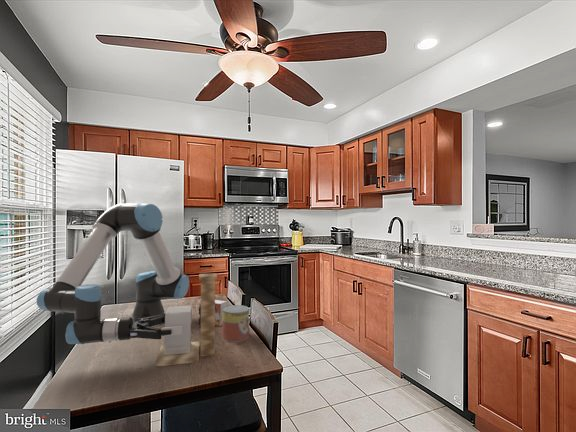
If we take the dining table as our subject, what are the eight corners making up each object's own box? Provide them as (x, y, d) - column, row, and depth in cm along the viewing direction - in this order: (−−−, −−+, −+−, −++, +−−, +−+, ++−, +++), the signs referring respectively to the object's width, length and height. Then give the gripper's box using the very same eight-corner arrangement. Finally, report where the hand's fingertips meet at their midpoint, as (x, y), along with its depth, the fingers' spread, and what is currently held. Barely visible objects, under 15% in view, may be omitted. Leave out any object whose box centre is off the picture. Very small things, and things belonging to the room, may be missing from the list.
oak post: (198, 357, 114) (199, 276, 114) (198, 350, 120) (199, 273, 121) (216, 355, 116) (217, 276, 116) (215, 348, 122) (216, 273, 122)
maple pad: (156, 366, 107) (156, 360, 107) (161, 349, 120) (161, 344, 120) (198, 361, 111) (198, 356, 111) (199, 346, 124) (199, 341, 124)
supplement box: (190, 353, 113) (190, 311, 113) (164, 356, 111) (164, 313, 111) (192, 343, 122) (192, 305, 122) (167, 345, 119) (167, 306, 120)
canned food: (236, 344, 126) (237, 314, 127) (216, 338, 132) (216, 309, 132) (254, 335, 136) (254, 307, 136) (234, 330, 142) (234, 303, 142)
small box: (206, 324, 150) (206, 301, 150) (213, 320, 156) (213, 299, 156) (220, 326, 147) (220, 303, 147) (227, 322, 153) (227, 300, 153)
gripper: (127, 327, 122) (184, 323, 128) (109, 354, 98) (180, 347, 104) (127, 308, 122) (184, 304, 128) (109, 330, 98) (181, 324, 104)
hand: (183, 323), depth 116 cm, fingers open, 13 cm apart
